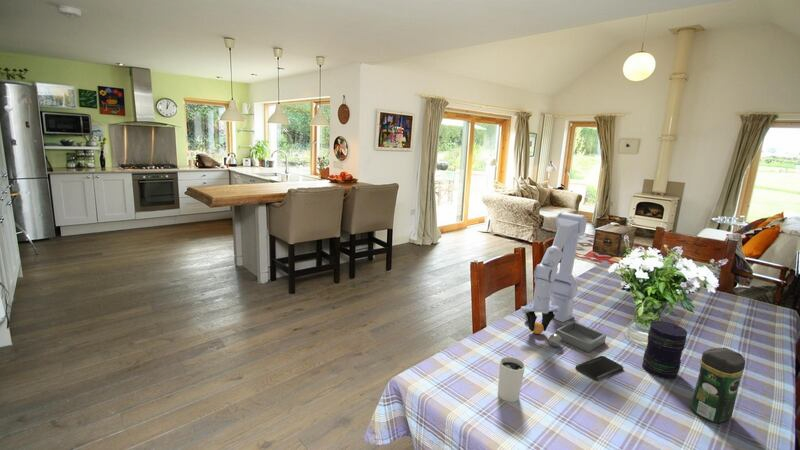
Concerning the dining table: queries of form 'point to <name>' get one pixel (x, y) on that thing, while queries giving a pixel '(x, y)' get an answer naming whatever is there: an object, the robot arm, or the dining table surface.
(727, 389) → the coffee jar
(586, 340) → the bin
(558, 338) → the steel ball
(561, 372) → the dining table surface
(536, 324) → the orange ball
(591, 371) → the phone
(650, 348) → the storage jar
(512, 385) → the white cup
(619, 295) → the dining table surface
